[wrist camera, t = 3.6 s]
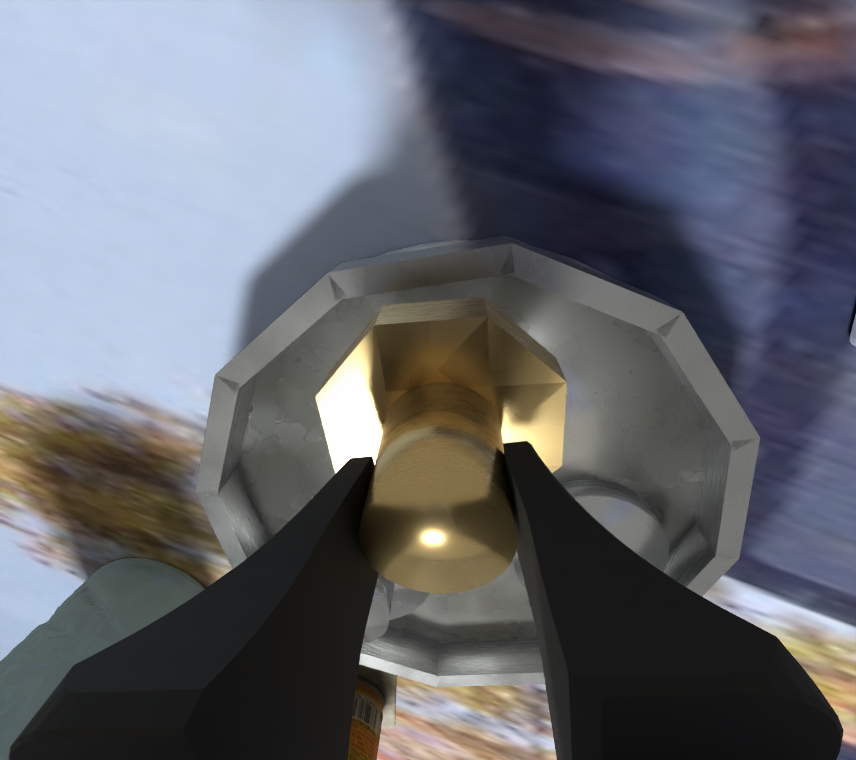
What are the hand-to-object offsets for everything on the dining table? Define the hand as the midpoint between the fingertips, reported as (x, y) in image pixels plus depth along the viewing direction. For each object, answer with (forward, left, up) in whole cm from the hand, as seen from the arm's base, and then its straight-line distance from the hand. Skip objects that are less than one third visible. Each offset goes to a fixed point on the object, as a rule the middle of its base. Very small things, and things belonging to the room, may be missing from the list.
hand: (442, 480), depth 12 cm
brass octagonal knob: (0, -1, -3) cm, 3 cm away
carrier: (0, +7, -10) cm, 12 cm away
